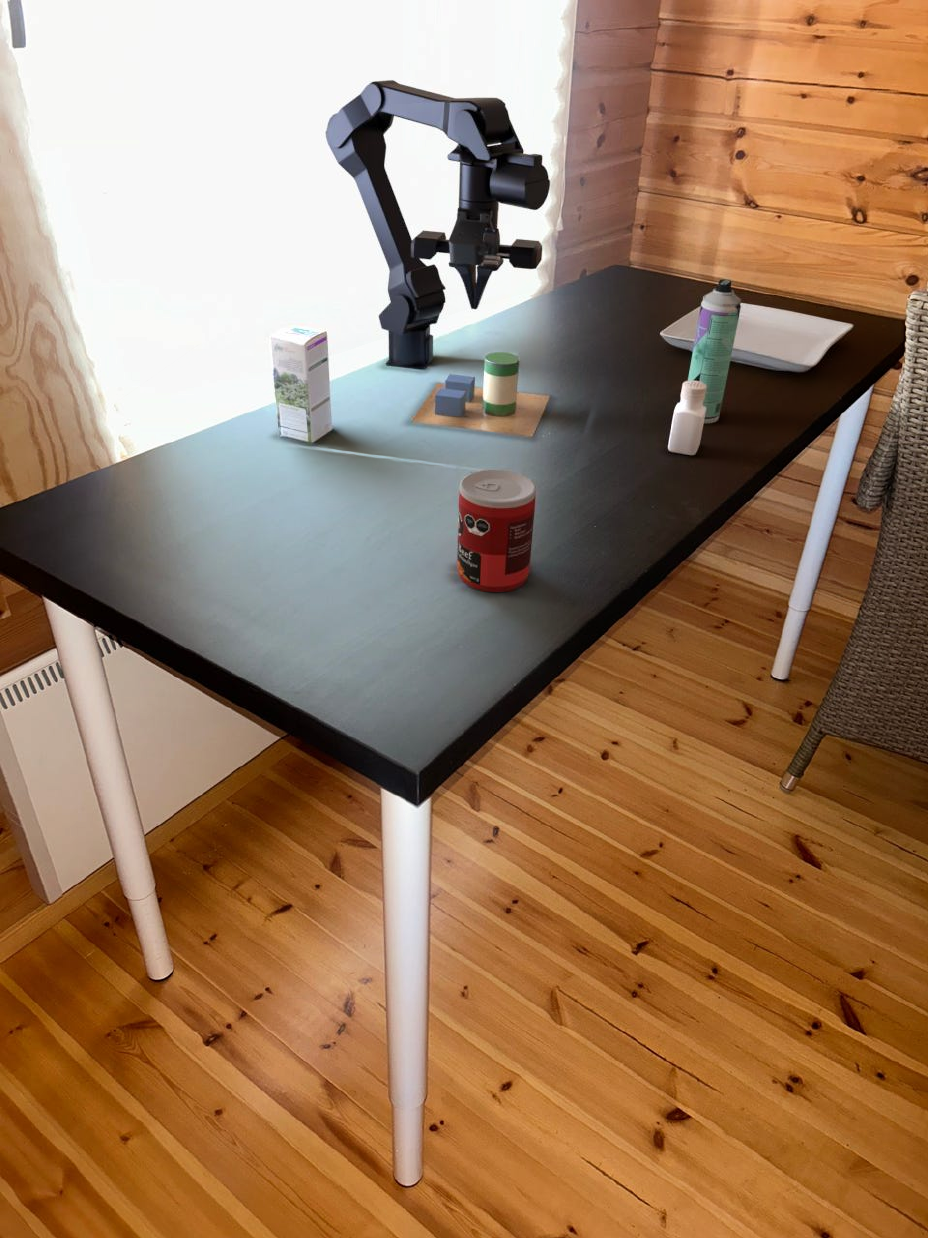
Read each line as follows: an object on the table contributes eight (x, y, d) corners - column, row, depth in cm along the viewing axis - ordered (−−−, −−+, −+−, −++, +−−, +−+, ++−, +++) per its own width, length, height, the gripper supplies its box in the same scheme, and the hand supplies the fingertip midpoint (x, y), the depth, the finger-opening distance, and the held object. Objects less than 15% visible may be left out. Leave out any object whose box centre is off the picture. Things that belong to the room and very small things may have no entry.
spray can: (716, 410, 146) (742, 276, 134) (720, 424, 141) (748, 287, 130) (680, 407, 146) (703, 274, 135) (683, 422, 142) (707, 284, 130)
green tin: (453, 385, 139) (499, 346, 134) (461, 373, 143) (506, 335, 138) (494, 432, 141) (540, 395, 137) (501, 419, 146) (546, 383, 141)
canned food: (454, 557, 107) (456, 469, 101) (523, 556, 108) (530, 468, 102) (459, 594, 101) (462, 502, 95) (533, 593, 102) (541, 502, 96)
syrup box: (334, 430, 135) (329, 329, 127) (311, 446, 130) (304, 341, 122) (299, 422, 137) (292, 322, 128) (276, 437, 132) (267, 334, 124)
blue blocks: (434, 414, 140) (434, 394, 138) (449, 392, 147) (449, 373, 145) (460, 417, 139) (461, 398, 138) (474, 395, 147) (475, 376, 145)
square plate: (850, 342, 175) (856, 321, 172) (808, 386, 155) (814, 363, 153) (709, 314, 186) (713, 294, 184) (654, 352, 167) (657, 330, 165)
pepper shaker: (666, 452, 133) (677, 387, 127) (671, 441, 136) (682, 377, 130) (695, 457, 132) (707, 391, 126) (699, 446, 135) (711, 381, 129)
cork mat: (410, 423, 138) (410, 421, 138) (437, 384, 151) (437, 382, 150) (532, 439, 135) (532, 436, 135) (550, 398, 148) (550, 395, 147)
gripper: (400, 204, 131) (400, 317, 140) (533, 215, 128) (525, 331, 137) (421, 189, 140) (420, 296, 149) (546, 199, 137) (538, 308, 145)
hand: (474, 308), depth 145 cm, fingers closed
